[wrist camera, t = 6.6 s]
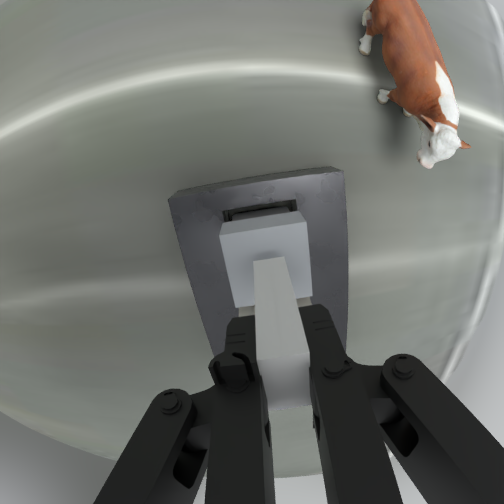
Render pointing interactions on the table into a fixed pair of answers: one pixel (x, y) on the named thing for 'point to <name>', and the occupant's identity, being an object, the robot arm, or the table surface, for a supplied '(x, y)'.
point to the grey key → (265, 249)
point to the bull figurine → (415, 75)
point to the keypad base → (255, 193)
